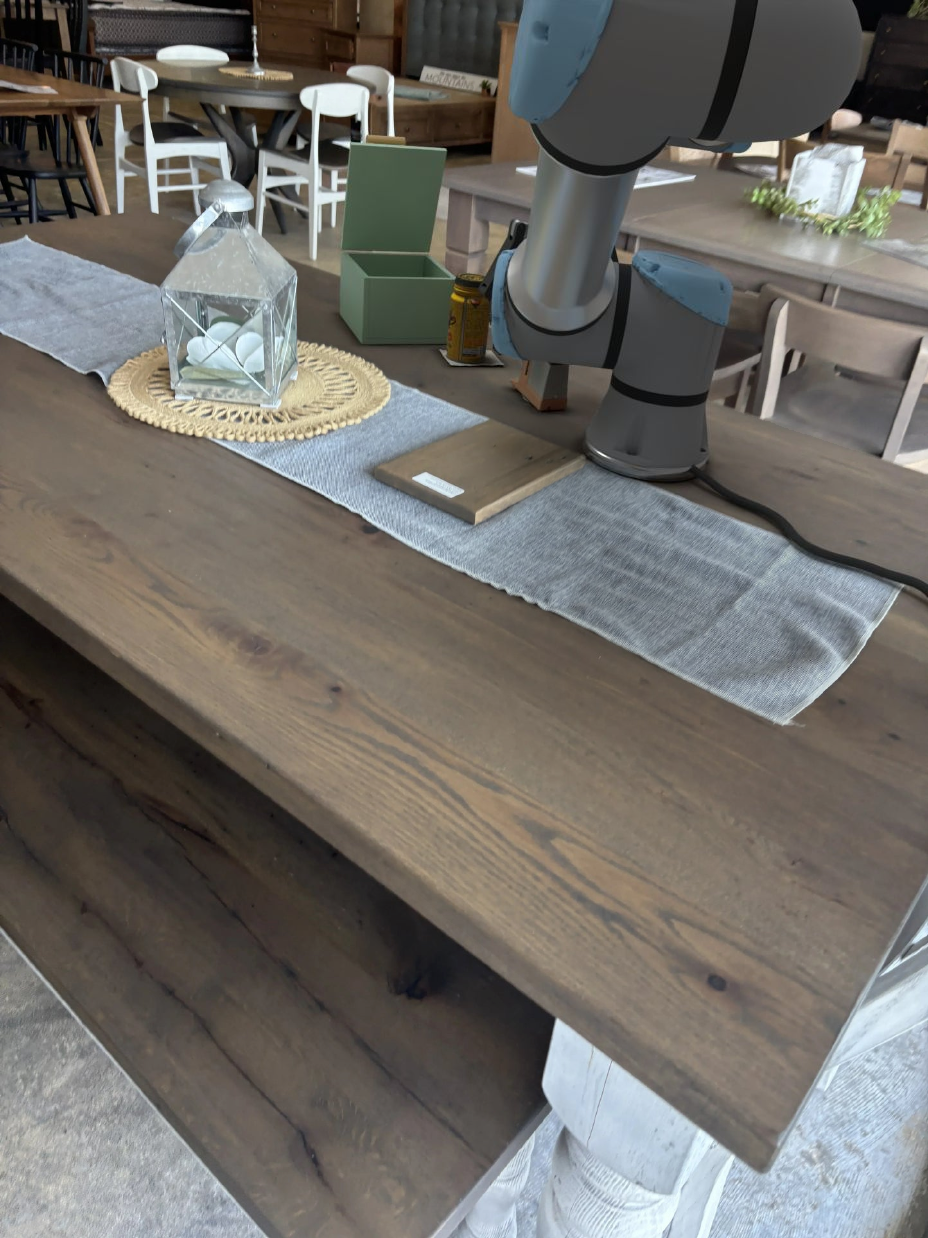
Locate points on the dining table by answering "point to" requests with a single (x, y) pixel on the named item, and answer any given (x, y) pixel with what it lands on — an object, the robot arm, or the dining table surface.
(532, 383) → the electronic device
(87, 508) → the dining table surface
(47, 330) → the dining table surface
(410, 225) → the lid
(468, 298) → the condiment
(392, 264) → the chest
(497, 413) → the dining table surface
